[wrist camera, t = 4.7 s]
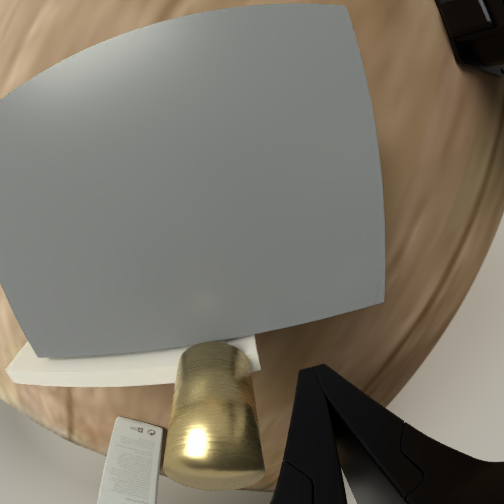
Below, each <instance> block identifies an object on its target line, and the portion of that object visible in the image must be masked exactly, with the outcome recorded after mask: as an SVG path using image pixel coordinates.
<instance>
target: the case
mask: <svg viewBox="0 0 504 504" xmlns="http://www.w3.org/2000/svg"><path fill="white" fill-rule="evenodd" d="M0 283H1V285H2V288H3V290H4V293H5V295H6V297H7V299H8V302H9V304H10V306H11V308H12V310H13V312H14V315H15V317H16V319H17V321H18V323H19V325H20V327H21V329H22V330H23V332H24V334H25V336H26V338H27V340H28V341H29V343H30V345H31V347H32V349H33V350H34V352H35V354H36V355H37V357H38V358H51V357H77V356H94V355H108V354H119V353H130V352H140V351H149V350H157V349H165V348H173V347H180V346H187V345H194V344H198V343H202V342H209V341H219V340H225V339H231V338H236V337H242V336H247V335H252V334H257V333H262V332H267V331H272V330H277V329H281V328H286V327H290V326H295V325H299V324H303V323H308V322H312V321H316V320H320V319H324V318H328V317H332V316H336V315H340V314H343V313H347V312H351V311H354V310H358V309H362V308H365V307H369V306H372V305H375V304H379V303H382V302H384V291H385V219H384V200H383V186H382V175H381V165H380V156H379V148H378V140H377V133H376V127H375V120H374V114H373V109H372V103H371V98H370V93H369V88H368V84H367V79H366V75H365V70H364V66H363V62H362V58H361V54H360V50H359V47H358V43H357V40H356V36H355V33H354V29H353V26H352V23H351V20H350V17H349V14H348V11H347V8H346V6H341V5H327V4H266V5H252V6H242V7H233V8H226V9H219V10H213V11H207V12H202V13H197V14H192V15H187V16H183V17H178V18H174V19H170V20H166V21H163V22H159V23H155V24H152V25H149V26H145V27H142V28H139V29H136V30H133V31H130V32H127V33H125V34H122V35H119V36H116V37H114V38H111V39H109V40H106V41H104V42H101V43H99V44H97V45H94V46H92V47H90V48H88V49H85V50H83V51H81V52H79V53H77V54H75V55H73V56H71V57H69V58H67V59H65V60H63V61H61V62H59V63H57V64H55V65H54V66H52V67H50V68H48V69H46V70H45V71H43V72H41V73H40V74H38V75H36V76H35V77H33V78H31V79H30V80H28V81H27V82H25V83H24V84H22V85H21V86H19V87H18V88H16V89H15V90H13V91H12V92H10V93H9V94H8V95H6V96H5V97H3V98H2V99H1V100H0Z"/></svg>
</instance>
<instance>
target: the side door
mask: <svg viewBox="0 0 504 504" xmlns="http://www.w3.org/2000/svg"><path fill="white" fill-rule="evenodd" d="M259 370H261V367H260V361H259V355H258V350H257V344H256V338H255V334H252V335H247V336H242V337H236V338H231V339H225V340H219V341H209V342H202V343H198V344H194V345H187V346H180V347H173V348H165V349H157V350H149V351H140V352H130V353H119V354H108V355H94V356H77V357H51V358H38V357H37V355H36V354H35V352H34V350H33V349H32V347H31V345H30V343H29V341H27V343H26V344H25V345H24V346H23V348H22V349H21V350H20V351H19V353H18V354H17V355H16V357H15V358H14V359H13V360H12V362H11V363H10V364H9V366H8V367H7V368H6V370H5V371H6V372H7V374H8V375H9V377H10V378H11V379H12V381H13V382H14V383H20V384H31V385H44V386H64V387H119V386H140V385H155V384H167V383H175V386H174V392H173V399H172V405H171V412H170V418H169V425H168V432H167V440H166V447H165V455H164V464H163V471H164V473H165V474H166V475H167V476H168V477H169V478H170V479H172V480H174V481H175V482H177V483H180V484H182V485H185V486H188V487H191V488H196V489H201V490H211V491H226V490H235V489H240V488H244V487H247V486H250V485H253V484H255V483H257V482H258V481H260V480H261V479H262V478H263V477H264V475H265V466H264V459H263V452H262V446H261V439H260V432H259V425H258V418H257V410H256V403H255V396H254V388H253V381H252V374H251V372H254V371H259Z"/></svg>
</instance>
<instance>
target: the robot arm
mask: <svg viewBox="0 0 504 504" xmlns="http://www.w3.org/2000/svg"><path fill="white" fill-rule="evenodd" d="M435 1H436V3H437V5H438V8H439V10H440V13H441V15H442V18H443V21H444V23H445V26H446V29H447V32H448V35H449V38H450V41H451V44H452V48H453V51H454V54H455V58H456V60H457V62H458V63H459V64H461V65H464V66H467V67H471V68H474V69H477V70H480V71H484V72H487V73H490V74H492V75H495V76H498V77H504V66H503V64H504V0H435ZM341 468H342V470H343V473H344V475H345V477H346V479H347V482H348V484H349V486H350V488H351V491H352V493H353V495H354V497H355V500H356V502H357V504H504V462H488V461H483V460H479V459H476V458H473V457H471V456H469V455H466V454H464V453H462V452H459V451H457V450H455V449H453V448H450V447H448V446H446V445H444V444H442V443H440V442H438V441H436V440H434V439H432V438H430V437H428V436H426V435H425V434H423V433H422V432H420V431H418V430H417V429H415V428H414V427H412V426H411V425H409V424H407V423H406V422H405V423H404V421H403V420H402V419H400V418H399V417H397V416H396V415H395V414H393V413H392V412H390V411H389V410H387V409H386V408H385V407H383V406H382V405H380V404H379V403H377V402H376V401H375V400H373V399H372V398H370V397H369V396H368V395H366V394H365V393H364V392H362V391H361V390H359V389H358V388H357V387H355V386H354V385H353V384H351V383H350V382H348V381H347V380H346V379H344V378H343V377H342V376H340V375H339V374H338V373H336V372H335V371H334V370H332V369H331V368H330V367H328V366H327V365H325V364H321V365H317V366H313V367H309V368H305V369H301V370H299V373H298V380H297V386H296V393H295V399H294V404H293V410H292V416H291V421H290V427H289V432H288V437H287V442H286V447H285V452H284V457H283V462H282V466H281V470H280V475H279V478H278V482H277V486H276V489H275V492H274V494H273V497H272V500H271V502H270V504H347V499H346V493H345V488H344V482H343V476H342V471H341Z"/></svg>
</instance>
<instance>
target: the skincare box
mask: <svg viewBox="0 0 504 504" xmlns="http://www.w3.org/2000/svg"><path fill="white" fill-rule="evenodd" d="M162 437H163V429H162V428H160V427H157V426H154V425H151V424H147V423H143V422H139V421H136V420H132V419H128V418H124V417H120V416H118V418H116V421H115V424H114V428H113V432H112V436H111V440H110V444H109V449H108V453H107V457H106V462H105V466H104V470H103V475H102V480H101V485H100V490H99V496H98V501H97V504H157V492H158V480H159V470H160V459H161V448H162Z"/></svg>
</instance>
